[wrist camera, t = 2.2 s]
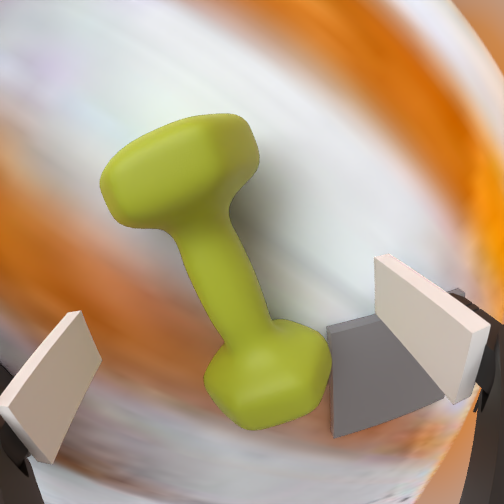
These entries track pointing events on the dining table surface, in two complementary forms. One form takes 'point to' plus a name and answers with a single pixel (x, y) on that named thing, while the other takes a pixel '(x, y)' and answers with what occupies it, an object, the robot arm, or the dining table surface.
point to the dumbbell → (220, 263)
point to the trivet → (374, 376)
